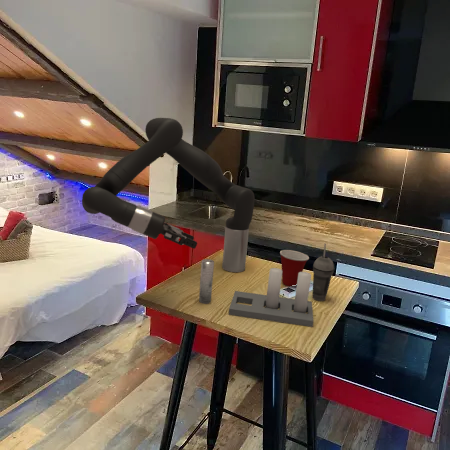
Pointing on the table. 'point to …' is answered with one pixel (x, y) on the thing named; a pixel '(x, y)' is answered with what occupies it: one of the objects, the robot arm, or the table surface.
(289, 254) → the plastic cup
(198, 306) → the table surface
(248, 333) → the table surface
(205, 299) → the steel pin
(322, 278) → the beverage cup
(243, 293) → the pin board
